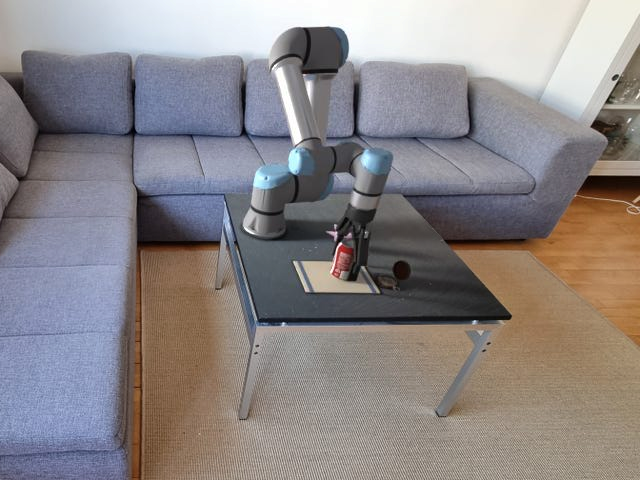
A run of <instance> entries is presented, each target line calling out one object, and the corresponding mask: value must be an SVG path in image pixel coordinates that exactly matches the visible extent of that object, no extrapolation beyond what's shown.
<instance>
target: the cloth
mask: <svg viewBox="0 0 640 480" xmlns="http://www.w3.org/2000/svg"><path fill="white" fill-rule="evenodd" d="M292 262H293V265H294V267H295V269H296V271H297V272H296V273H297V274H298V277H299V279H300V281H301V284H302V286H303V288H304V291H305V293H306V294H307V293H310V294H311V293H313V294H314V293H316V294H372V295H373V294H379V295H380V294H381V291H380V290H379V288H378V286H377V285H376V284H375V282H374V281H373V279H372V277H371V276H370V274H369V272H368V270H367V269H366V268H365V266H361V269H360V272H359V275H358V277H357V280H356V281H347V280H340V279H337V278H335V277H334V276H332V275H331V273H330V270H331V266H332V263H333V261H328V260H327V261H325V260H324V261H322V260H321V261H319V260H318V261H317V260H314V261H313V260H293V261H292Z"/></svg>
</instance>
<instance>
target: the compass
mask: <svg viewBox="0 0 640 480" xmlns="http://www.w3.org/2000/svg"><path fill="white" fill-rule="evenodd" d="M411 273H412V268H411V265H410V263H408V261H406V260H405V259H401V260H396V261H395V262H394V263H393V265H392V275H393V276H392V275H389V274H379V275H377V276H376V278H375V282H376V283H377V284H378V285H379V286H380V287H382V288H385V289H391V290H394V291H397V292H399V291H400V290H401V289H400V288H399V287H398V286H399V281H406V280H408V279H409V278H410V276H411ZM396 289H397V290H396Z"/></svg>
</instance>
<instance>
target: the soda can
mask: <svg viewBox="0 0 640 480" xmlns="http://www.w3.org/2000/svg"><path fill="white" fill-rule="evenodd" d="M332 259H333V260H332V262H333V263H332V266H331V270H330V273H331V275H332V276H334V277H335V278H337V279H340V280H346V279H347V276H348V272H349V269H350V266H351V262H354V242H353V240H352V238H344V239H342V240H341V242H340V243H339V244H338V246H337V249H336V253H335V256H333V258H332Z"/></svg>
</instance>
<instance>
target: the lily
mask: <svg viewBox="0 0 640 480" xmlns="http://www.w3.org/2000/svg"><path fill="white" fill-rule="evenodd" d="M337 225H338V224H334V231H329V230H326V231H325V233H326V234H329V235H331V236H332V237H334V238H333V241H334V242H335V243H336V239H337V237H338V236H337V232H336V231H335V229H336V227H337ZM344 237H346V238H352V235H351V233H349V234H348V236H344Z"/></svg>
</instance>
